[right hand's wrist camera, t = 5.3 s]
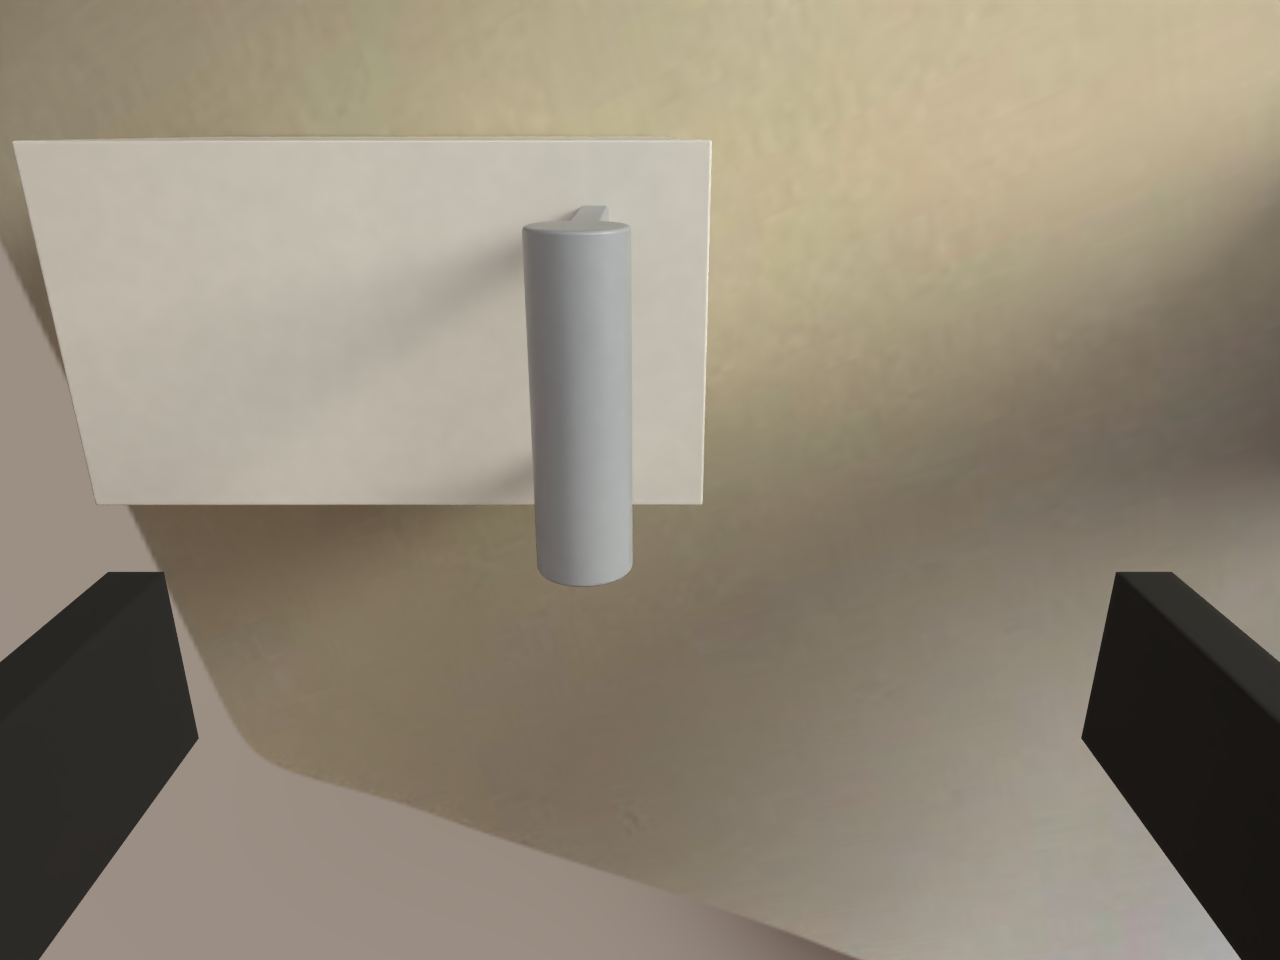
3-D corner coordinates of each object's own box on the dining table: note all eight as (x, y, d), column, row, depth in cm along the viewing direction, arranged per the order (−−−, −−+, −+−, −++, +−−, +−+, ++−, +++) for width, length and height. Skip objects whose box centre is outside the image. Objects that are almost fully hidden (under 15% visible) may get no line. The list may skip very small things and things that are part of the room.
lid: (708, 139, 23) (744, 145, 15) (700, 491, 26) (725, 648, 18) (37, 140, 23) (-283, 146, 15) (115, 491, 26) (-112, 648, 18)
